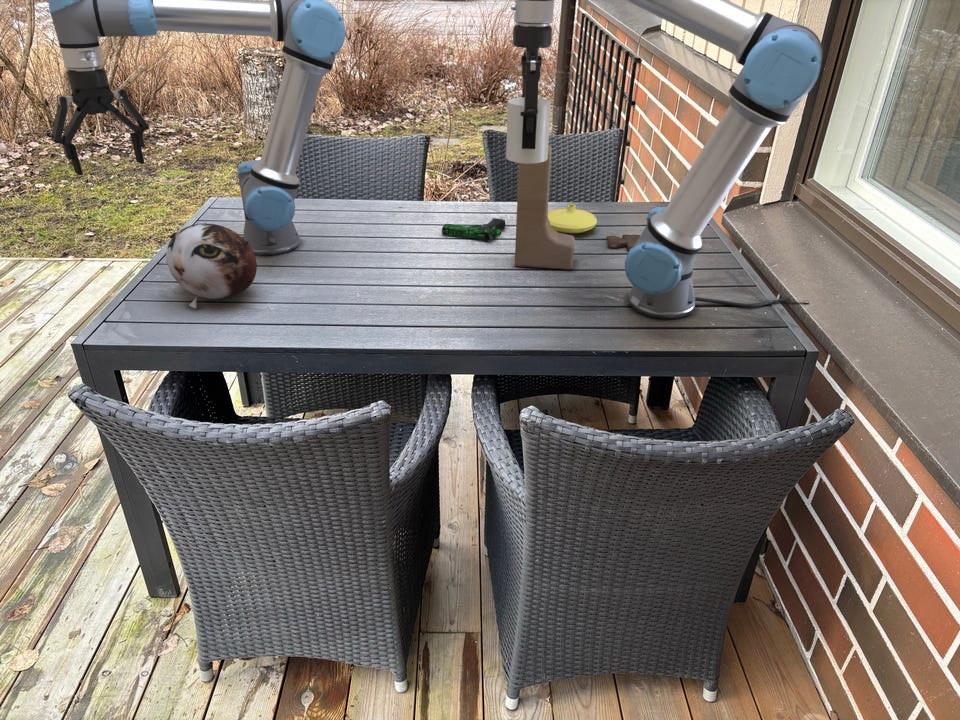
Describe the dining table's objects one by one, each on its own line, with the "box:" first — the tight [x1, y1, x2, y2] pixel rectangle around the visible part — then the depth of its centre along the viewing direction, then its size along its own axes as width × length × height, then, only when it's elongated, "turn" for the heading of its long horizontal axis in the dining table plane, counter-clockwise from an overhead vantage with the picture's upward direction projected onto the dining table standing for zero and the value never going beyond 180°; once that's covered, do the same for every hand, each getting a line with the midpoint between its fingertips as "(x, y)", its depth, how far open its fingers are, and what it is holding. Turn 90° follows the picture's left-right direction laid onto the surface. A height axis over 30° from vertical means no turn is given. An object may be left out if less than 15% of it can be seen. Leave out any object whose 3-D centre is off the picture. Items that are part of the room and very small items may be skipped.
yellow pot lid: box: [547, 203, 598, 234], centre depth 209 cm, size 16×16×7 cm
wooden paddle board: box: [605, 234, 641, 251], centre depth 200 cm, size 26×2×10 cm
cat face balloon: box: [165, 222, 258, 309], centre depth 165 cm, size 22×18×20 cm
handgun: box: [441, 217, 506, 242], centre depth 207 cm, size 16×3×15 cm
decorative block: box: [514, 144, 576, 271], centre depth 181 cm, size 8×15×30 cm, turn 82°
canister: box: [505, 96, 552, 164], centre depth 148 cm, size 9×9×12 cm
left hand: (110, 168), depth 162 cm, fingers open, 13 cm apart
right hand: (527, 142), depth 150 cm, fingers closed on canister, 9 cm apart
